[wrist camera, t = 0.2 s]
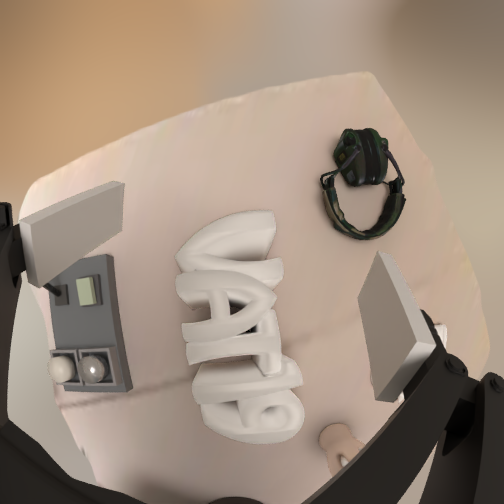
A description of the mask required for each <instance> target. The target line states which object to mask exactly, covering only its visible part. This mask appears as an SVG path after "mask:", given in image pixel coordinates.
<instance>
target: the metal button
mask: <svg viewBox="0 0 504 504" xmlns="http://www.w3.org/2000/svg"><path fill="white" fill-rule="evenodd" d="M78 373H79V375H80V377H81V378H82V379H83V380H84V381H85V382H87V383H89V384H94V383H96V382H99V381H101V380H103V379H105V378H106V377H107V375H108V365H107V363H106V361H105V360H104V359H103V358H102V357H101V356H99V355H91V356H87V357H84V358H82V359H80V361H79V362H78Z"/></svg>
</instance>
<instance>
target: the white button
mask: <svg viewBox="0 0 504 504" xmlns="http://www.w3.org/2000/svg"><path fill="white" fill-rule="evenodd" d="M48 372H49V375H50V376H51V378H52V379H53V380H54V381H55V382H58V383H62V382H65V381H68V380H70V379H72V378H74V376H75V373H76V368H75V365H74V363H73V361H72V360H71V359H70V358H69V357H68V356H59V357H54V358H51V359H50V360H49V362H48Z"/></svg>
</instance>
